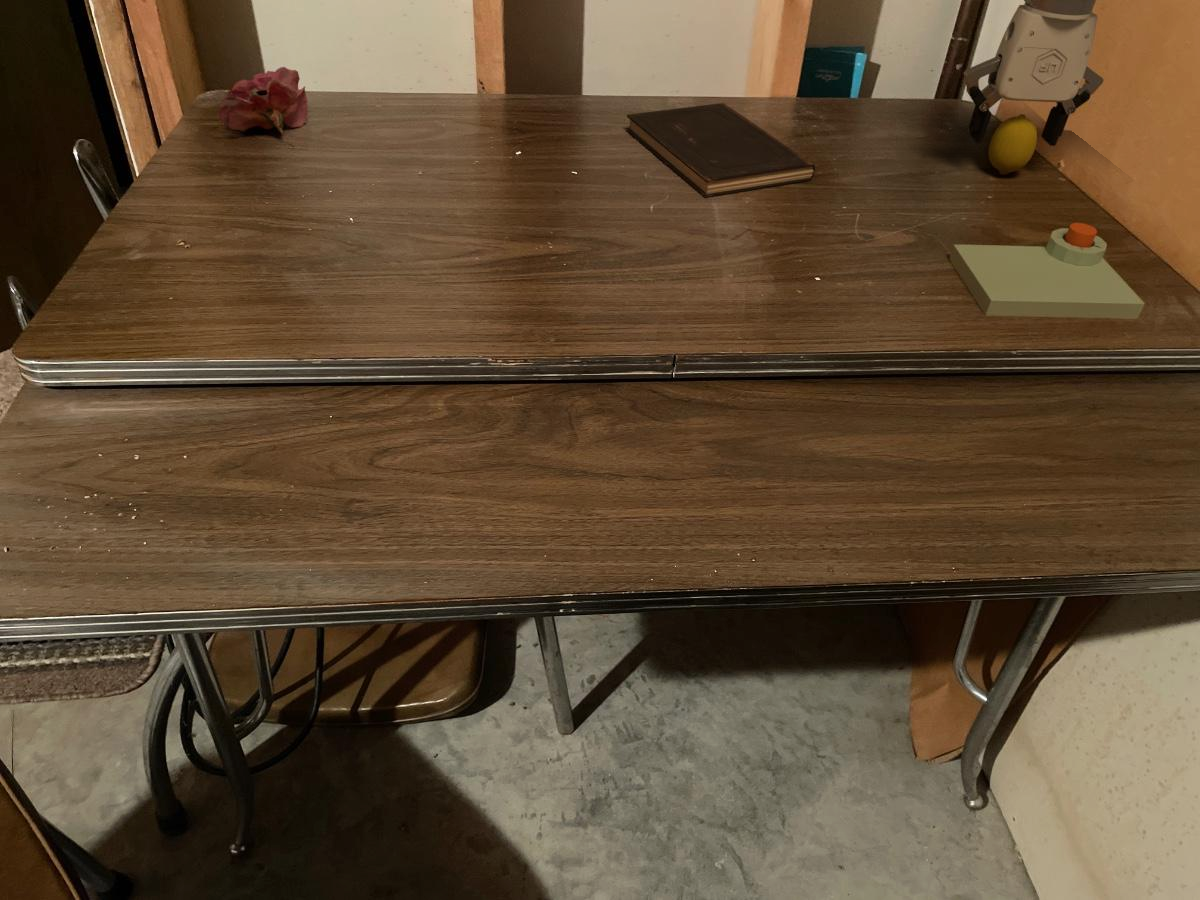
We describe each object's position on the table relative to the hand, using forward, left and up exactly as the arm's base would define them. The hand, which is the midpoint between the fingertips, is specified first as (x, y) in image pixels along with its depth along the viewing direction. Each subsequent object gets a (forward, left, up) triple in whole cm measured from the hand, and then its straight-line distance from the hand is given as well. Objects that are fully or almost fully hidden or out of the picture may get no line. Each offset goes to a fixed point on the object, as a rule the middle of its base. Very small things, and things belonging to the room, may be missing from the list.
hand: (1011, 140), depth 119 cm
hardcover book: (+38, -4, -5) cm, 38 cm away
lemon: (0, 0, -5) cm, 5 cm away
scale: (+7, +30, -5) cm, 31 cm away
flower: (+98, -7, -5) cm, 98 cm away
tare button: (+2, +26, -2) cm, 26 cm away
